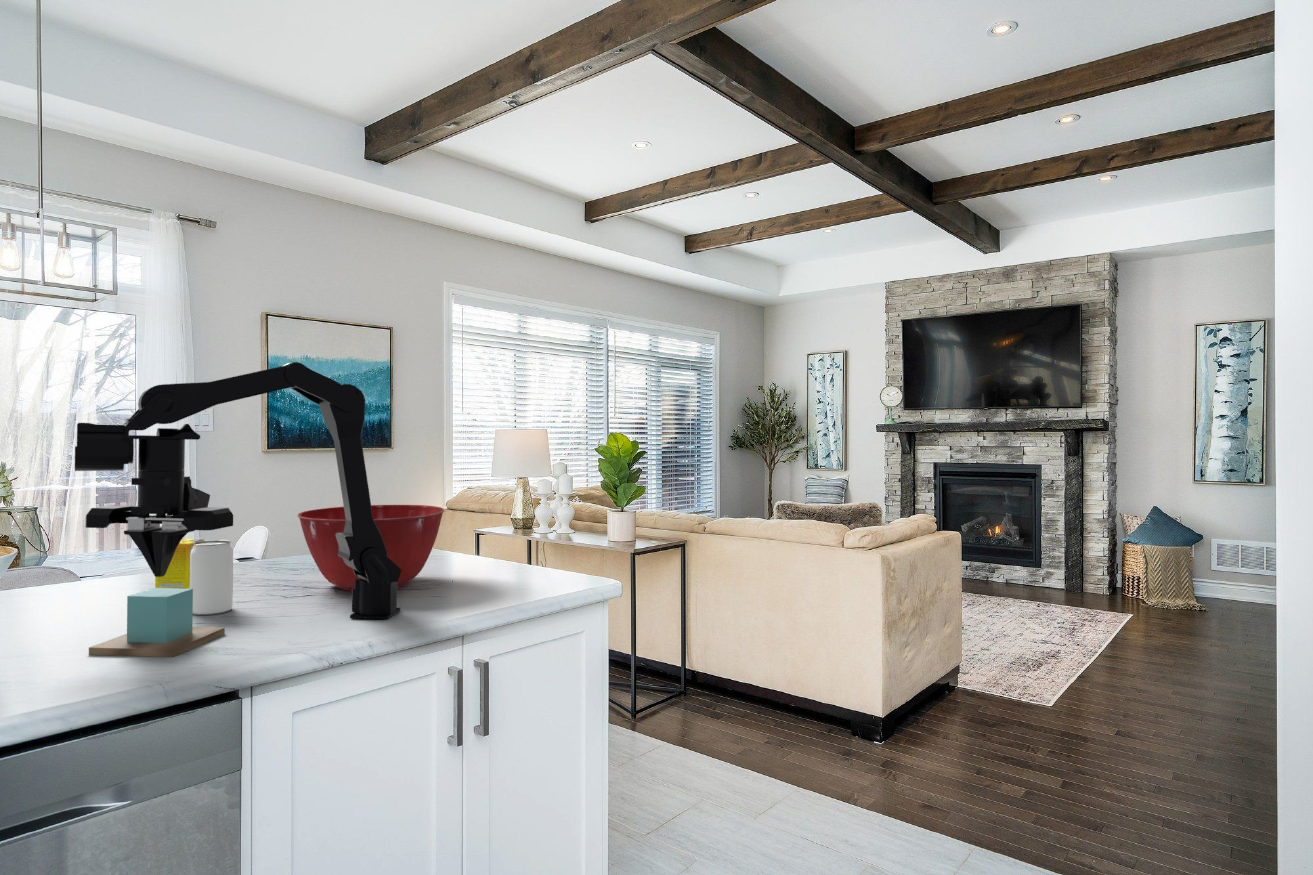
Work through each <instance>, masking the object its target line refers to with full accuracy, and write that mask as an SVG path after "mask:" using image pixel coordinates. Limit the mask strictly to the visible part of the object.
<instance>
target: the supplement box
mask: <svg viewBox="0 0 1313 875" xmlns="http://www.w3.org/2000/svg"><path fill="white" fill-rule="evenodd" d="M200 541H206V539H205V538H182V540H181V541H180V543H179V545H178V546H177V548H176V550H175V553H174V555H173V557H172V560H171V562H170V565H169V567H168V569H167V572H166V574H165V576H162V577H155V576H154V577H155V578H154V579H155V580H154V582H155V585H154V588H183V589H190V554H191V551H192V549H193V547H194V544H193V543H195V542H200Z"/></svg>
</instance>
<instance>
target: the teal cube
mask: <svg viewBox="0 0 1313 875" xmlns="http://www.w3.org/2000/svg"><path fill="white" fill-rule="evenodd" d="M126 600H127V601H126V634H127V642H146V643H168V642H170V641H173V640H175V639H177V638H180V637H182V636H185V635H187V634H190V633H192V627H193V616H194V614H193V589H183V588H155V587H153V588H150V589H147V590H143V591H140V592H137V593H134V594H130V595H127V599H126Z"/></svg>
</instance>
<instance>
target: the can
mask: <svg viewBox="0 0 1313 875" xmlns="http://www.w3.org/2000/svg"><path fill="white" fill-rule="evenodd" d="M231 542H232V541H231V540H227V539H216V540H215V539H212V540H210V539H209V540H205V541H200V542H195V543H193V544H194V547H193V549H192V551H191V554H190V589H193V616H214V615H220V614H224V613H228V612H229V611H231V609H233V608H234V607H233V605H234V604H233V600H234V599H233V598H234V549H233V547H232V545H231Z"/></svg>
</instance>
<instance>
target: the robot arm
mask: <svg viewBox="0 0 1313 875" xmlns="http://www.w3.org/2000/svg"><path fill="white" fill-rule="evenodd" d="M284 389H285V390H286V389H291V390H293V391H295V392H296V393H298V394H299V395H301V396H302V397H303V398H306V399H307V400H308V401H310V402H312V403H314V404H316V405H318V407H319V409H320V412H321V416H322V418H323V421H324V424H325V426H326V428H327V430H328V432H329V434H330V435H331V437H332V440H333V443H334V444H333V445H334V450H335V457H336V464H337V470H338V472H337V473H338V478H339V484H340V491H341V496H342V504H343V507H344V511H345V518H346V523H345V528H344V533H336V534H335V535H336V539H337V542H338V545H339V552H338V556H340V557H342V558H343V560H344V562H345V564H346V565H347V566H349V567H351V568H352V569H353V571H354V574H355V576H356V577H359V579H357V580H355V588H353V589H352V591H351V612H352V613H351V614H350V615H349V618H350V619H365V620H367V619H371V620H373V619H374V620H386V619H387V620H388V619H389V618H391V617H393V616H395V615H396V614H398V613H399V612H401V611H402V610H401V607H398V588H397V581H398V579H399V577H400V574H401V571H402V570H401V569H400V568H399V567H398V566H397V565H396V564H395V563H394V562H392V561H391V560H390V559H389V558H388V553H387V549H386V546H385V543H384V540H383V538H382V535H381V533H380V531H379V529H378V527H377V525H376V523H375V521H374V519H373V514H372V508H371V505H372V503H371V497H370V496H371V494H370V488H369V480H368V474H367V468H366V463H365V462H366V461H365V455H364V449H363V441H362V434H363V428H364V425H365V421H366V420H365V419H366V418H365V417H366V398H365V394H364V392H363V390H361V389H360V388H358V386H356V385H353V384H350V383H342V384H341V383H340V382H337V381H336V380H335V379H333V378H330V377H328V376H326V375H324V374H322V373H319V372H318V371H314V370H313V369H311V368H309V367H308V366H306V365H305V364H303V363H302V362H298V361H294V362H293V361H292V362H289V363H286V364H283V365H281V366H277V367H272V368H268V369H263V370H262V369H261V370H258V371H253V372H250V373H246V374H240V375H235V376H231V377H226V378H222V379H217V380H213V381H206V382H204V381H203V382H184V383H181V382H180V383H166V384H165V383H164V384H157V385H154V386H152V387H149V388H147V389H146V390H144V391H143V392H142V394H141V396H140V395H139V397H138V402H137V406H138V409H137V410H136V411H135V412H134V413H133V414H132V415H131V416H130V418H125V420H126V422H125V423H124V424H101V423H100V424H96V423H95V424H94V423H92V422H78V423H76V445H74V472H109V471H110V472H113V471H114V472H115V471H121V472H122V471H124V469H125V465H129V464H131V465H132V464H133V463H134V451H135V450H134V442H135V441H134V440H138V455H137V456H138V457H137V458H138V460H137V461H138V462H137V463H138V466H137V469H138V470H137V477H132V478H131V486H137V505H122V504H121V505H120V504H119V505H117V504H116V505H115V504H114V505H113V504H112V505H105V506H98V507H91V508H90V509H89V511H88V512H87V514H86V515H85V528H87V529H89V528H90V529H107V528H108V527H109V526H110V525H113V524H127V530H124V531H123V534H124V535H125V536H126V535H127V536H129V537H130V539H131V540H132V541H133V543H134V544H135V545H136V547H137V548H138V549H139V551H140V553H141V554H142V556H143V558H144V560H145V562H146V563H147V565H148V567H149V568H150V570H151V572H152V574H153V576H154V577H162V576H165V574H166V572H167V569H168V567H169V565H170V562H171V560H172V557H173V555H174V553H175V550H176V548H177V546H178V545H179V543H180V541H181V540H182V539H184V537H185V536H186V535H187V534H188V533H192V532H195V531H214V530H215V531H216V530H219V529H220V530H221V529H224V528H229V527H233V526H234V514H233V512H232V510H230V508H229V507H214V506H213V507H212V506H211V507H208V506H209V504H210V503H209V502H210V499H211V498H210V497H211V494H209V493H208V492H204V491H202V490H200V489H199V488H194V487H192V479H191V476H188V475H186V476H185V460H186V459H185V457H186V456H185V453H186V452H185V451H186V450H185V449H186V446H185V445H186V440H190V441H191V440H192V441H193V440H194V441H197V440H200V439H201V434H199V433H197V432H196V431H195V430H194V429H193V428H192V426H190V424H189V423H184V424H183V426H181V427H180V428H174V427H173V428H167V427H165V428H164V427H159V428H156V434H155V435H146V434H145V435H141V434H138V435H136V434H135V435H134V434H133V435H131V434H130V431H145V430H147V429H149V428H151V427H153V426H154V425H157V424H158V425H167V424H168V425H169V424H174V423H176V422H178V421H181V420H184V419H186V418H189V417H191V416H193V415H196V414H198V413H200V412H203V411H206V410H208V409H209V408H212V407H215V406H216V405H220V404H226V403H229V402H230V403H231V402H234V401H238V400H242V399H246V398H252V397H256V396H260V395H263V394H267V393H268V394H269V393H272V392H277V391H281V390H284Z"/></svg>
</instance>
